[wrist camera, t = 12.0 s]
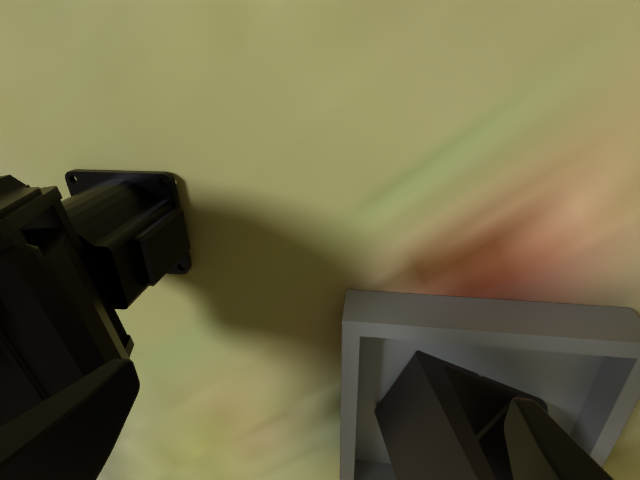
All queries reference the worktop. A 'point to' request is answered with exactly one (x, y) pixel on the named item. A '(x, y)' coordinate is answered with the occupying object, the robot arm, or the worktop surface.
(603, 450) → the tray
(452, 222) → the worktop surface
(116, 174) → the robot arm
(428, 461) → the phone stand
